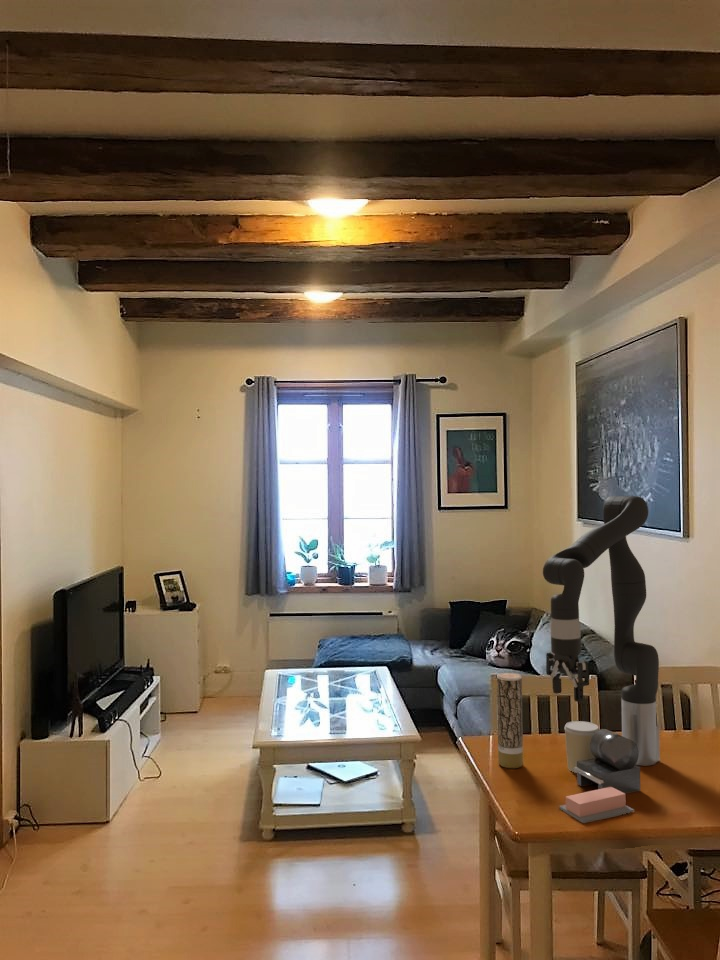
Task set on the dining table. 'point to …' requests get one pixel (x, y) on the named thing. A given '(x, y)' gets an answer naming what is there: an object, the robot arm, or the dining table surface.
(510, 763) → the bark print canister
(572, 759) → the coffee cup
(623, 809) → the mat
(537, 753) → the dining table surface
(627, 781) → the dispenser
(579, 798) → the pink block
